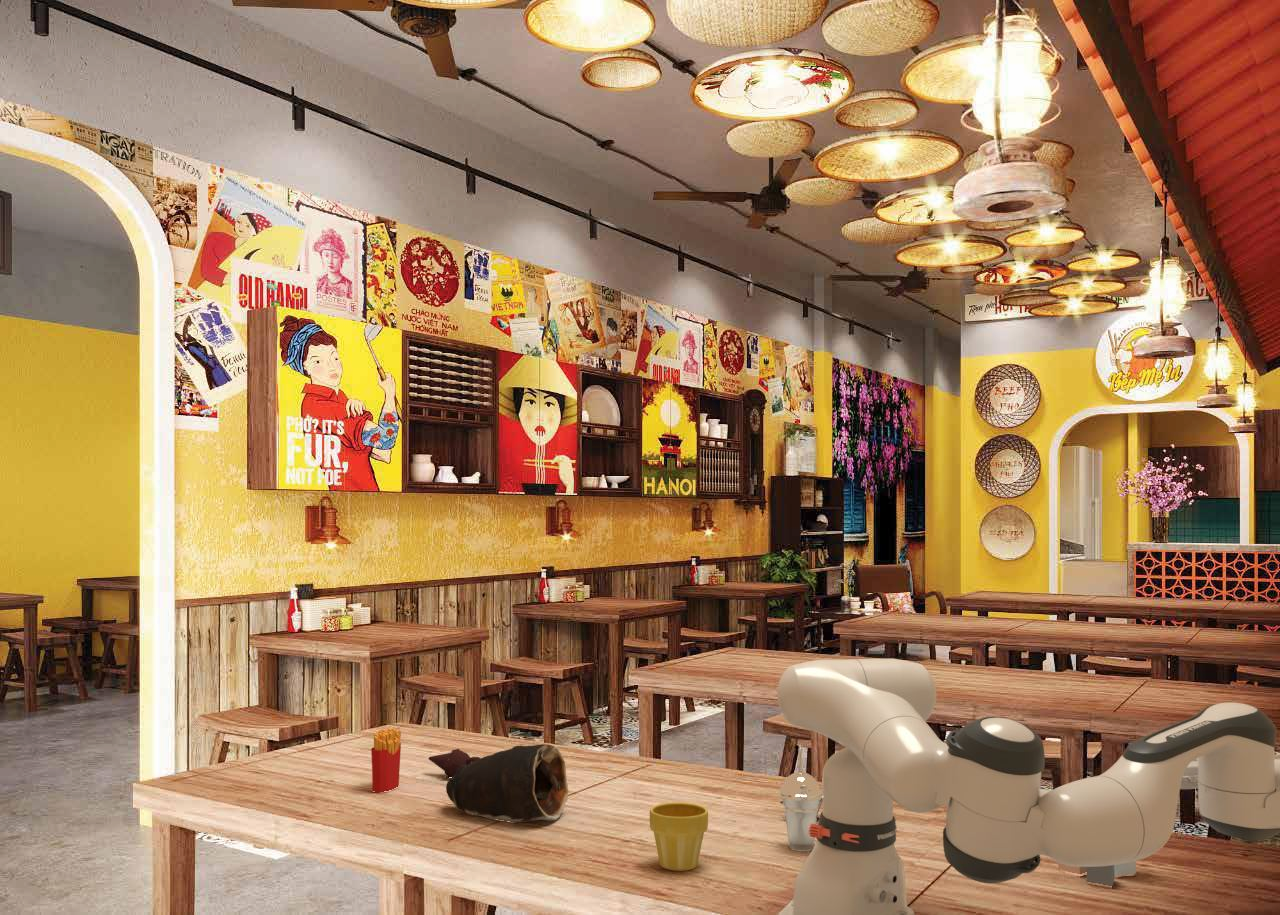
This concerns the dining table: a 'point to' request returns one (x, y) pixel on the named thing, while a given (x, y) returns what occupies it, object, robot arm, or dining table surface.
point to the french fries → (386, 760)
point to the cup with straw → (800, 806)
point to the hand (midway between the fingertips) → (1170, 757)
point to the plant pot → (678, 833)
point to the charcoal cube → (1101, 875)
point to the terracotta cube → (1073, 868)
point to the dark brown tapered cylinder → (513, 785)
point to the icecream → (452, 761)
